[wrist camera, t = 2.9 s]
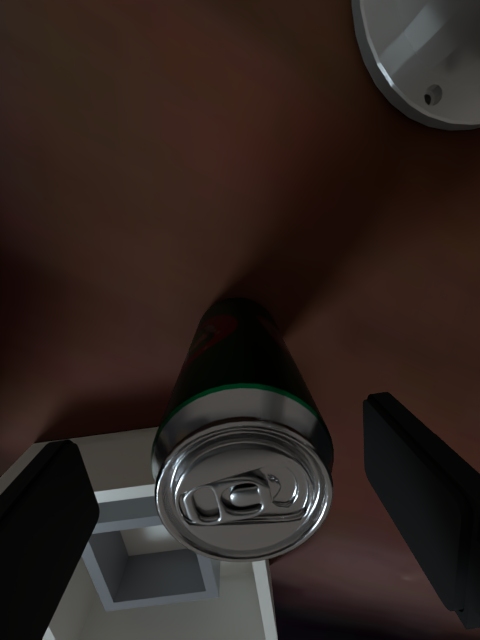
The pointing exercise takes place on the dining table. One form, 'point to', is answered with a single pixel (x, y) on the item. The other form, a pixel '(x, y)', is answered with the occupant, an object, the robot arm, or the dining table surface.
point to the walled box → (149, 562)
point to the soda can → (241, 443)
